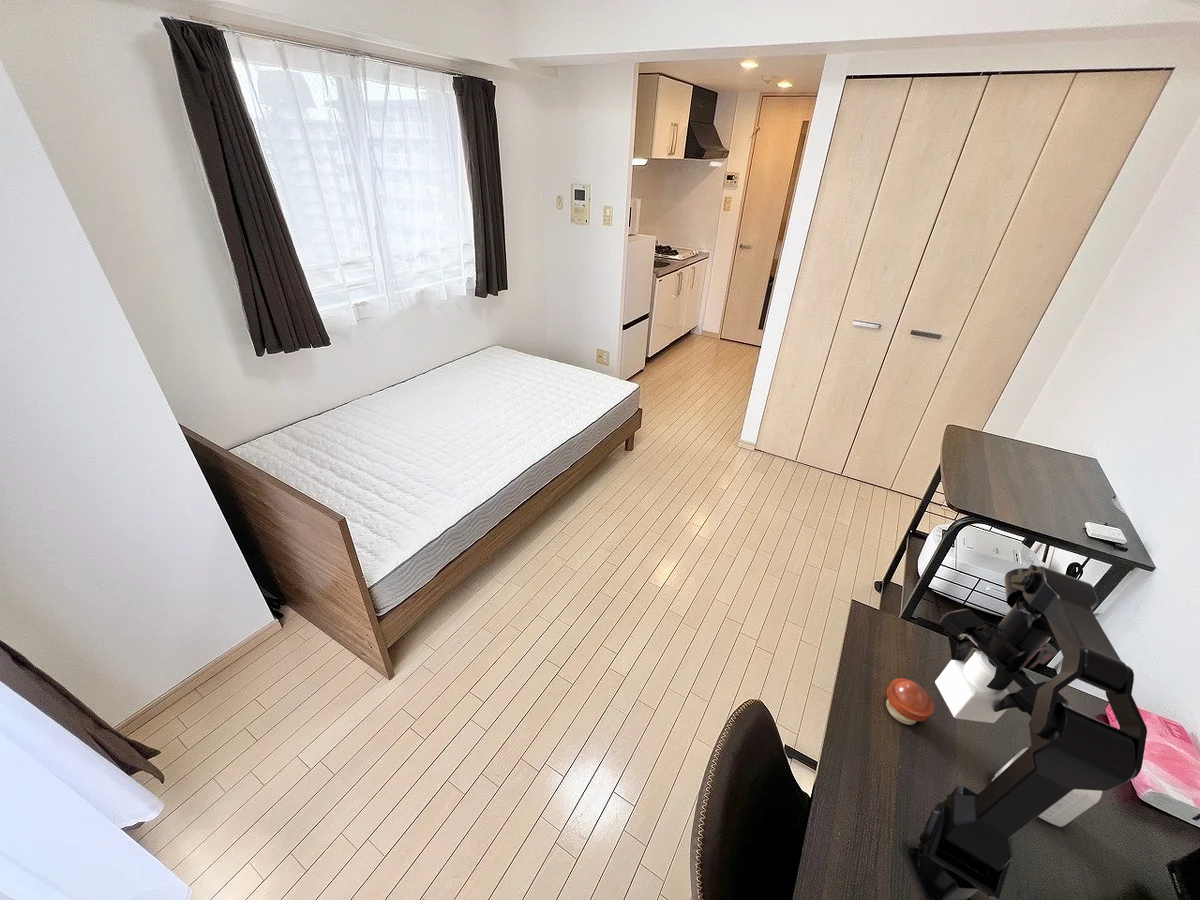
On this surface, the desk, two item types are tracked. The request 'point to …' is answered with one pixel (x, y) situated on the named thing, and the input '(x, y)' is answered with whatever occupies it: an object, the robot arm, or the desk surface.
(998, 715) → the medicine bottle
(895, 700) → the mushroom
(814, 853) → the desk surface
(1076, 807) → the photo printer
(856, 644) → the desk surface
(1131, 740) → the robot arm
